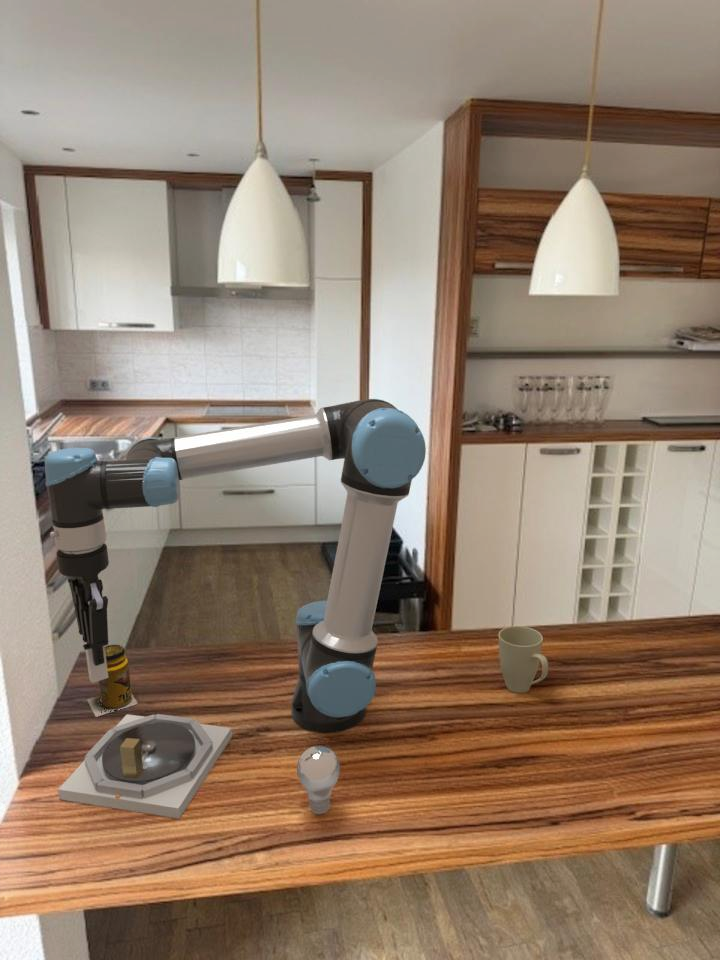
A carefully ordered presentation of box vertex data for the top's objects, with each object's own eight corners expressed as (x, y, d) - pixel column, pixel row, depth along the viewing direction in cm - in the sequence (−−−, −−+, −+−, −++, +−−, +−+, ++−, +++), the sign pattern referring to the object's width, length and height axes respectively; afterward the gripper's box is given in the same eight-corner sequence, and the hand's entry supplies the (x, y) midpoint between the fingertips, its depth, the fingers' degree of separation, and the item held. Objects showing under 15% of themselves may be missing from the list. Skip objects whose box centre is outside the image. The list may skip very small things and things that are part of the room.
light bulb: (298, 799, 120) (296, 737, 117) (339, 796, 121) (338, 734, 117) (298, 829, 113) (296, 765, 110) (342, 826, 114) (341, 762, 111)
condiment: (138, 704, 148) (132, 652, 145) (96, 718, 143) (89, 664, 140) (127, 688, 154) (122, 637, 150) (87, 700, 149) (80, 649, 146)
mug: (491, 696, 149) (493, 644, 146) (501, 672, 158) (503, 623, 154) (545, 706, 145) (548, 653, 142) (551, 682, 154) (555, 631, 150)
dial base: (232, 736, 137) (230, 721, 136) (179, 818, 116) (177, 800, 115) (127, 723, 141) (126, 707, 140) (59, 799, 121) (56, 781, 120)
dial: (127, 725, 137) (123, 692, 135) (207, 731, 135) (205, 697, 133) (85, 781, 121) (80, 745, 120) (175, 789, 119) (172, 752, 117)
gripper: (45, 540, 116) (64, 670, 122) (68, 564, 106) (88, 703, 112) (92, 530, 120) (108, 655, 127) (119, 552, 110) (135, 687, 117)
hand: (98, 678), depth 119 cm, fingers closed
